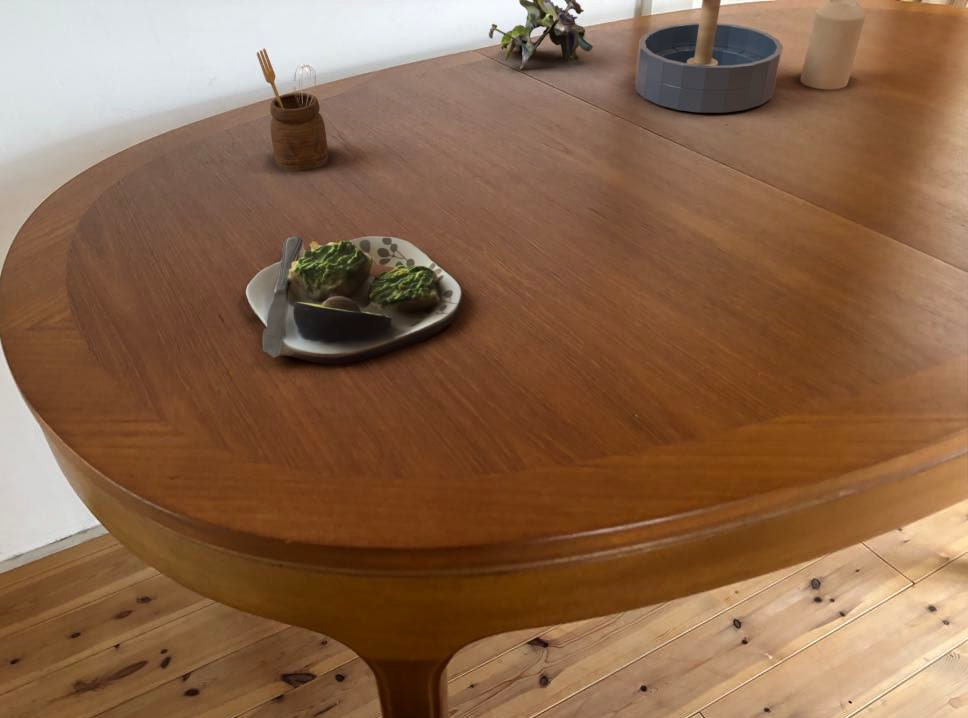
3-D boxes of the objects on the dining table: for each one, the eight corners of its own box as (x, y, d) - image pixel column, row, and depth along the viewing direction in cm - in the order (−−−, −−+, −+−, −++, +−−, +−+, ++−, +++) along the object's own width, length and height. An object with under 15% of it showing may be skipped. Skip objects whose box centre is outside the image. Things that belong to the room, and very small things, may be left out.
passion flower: (564, 100, 124) (615, 37, 114) (505, 106, 118) (554, 40, 108) (528, 36, 126) (575, -31, 116) (469, 38, 120) (513, -32, 110)
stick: (712, 81, 108) (734, -64, 98) (716, 92, 105) (740, -56, 95) (681, 81, 109) (701, -63, 98) (685, 92, 106) (705, -55, 96)
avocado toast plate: (209, 278, 80) (198, 233, 77) (386, 227, 86) (383, 183, 83) (283, 394, 67) (273, 344, 64) (487, 325, 73) (487, 276, 70)
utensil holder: (313, 178, 95) (298, 65, 88) (263, 170, 98) (244, 59, 90) (339, 156, 100) (326, 46, 92) (290, 149, 102) (274, 41, 94)
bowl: (759, 70, 115) (768, 22, 111) (783, 119, 102) (795, 67, 98) (630, 70, 117) (635, 23, 113) (639, 119, 104) (645, 67, 100)
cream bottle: (835, 96, 107) (857, 8, 101) (791, 86, 110) (810, 1, 104) (854, 82, 110) (876, -3, 104) (811, 73, 113) (830, -10, 107)
